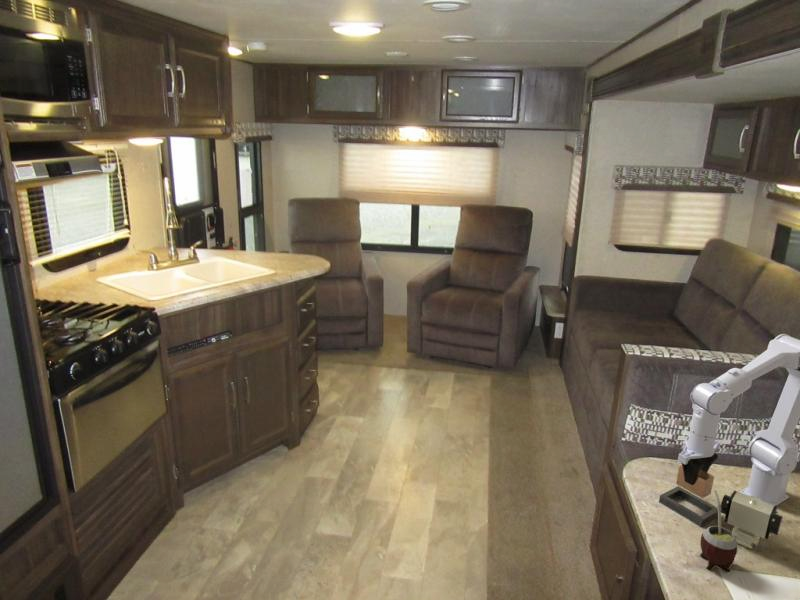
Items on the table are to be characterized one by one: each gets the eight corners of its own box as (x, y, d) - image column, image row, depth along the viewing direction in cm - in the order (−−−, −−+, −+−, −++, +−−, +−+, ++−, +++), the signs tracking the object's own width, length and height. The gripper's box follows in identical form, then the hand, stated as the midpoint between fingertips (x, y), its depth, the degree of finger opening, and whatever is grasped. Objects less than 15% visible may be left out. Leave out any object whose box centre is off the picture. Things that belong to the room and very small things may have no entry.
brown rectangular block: (710, 493, 142) (714, 476, 140) (702, 498, 140) (705, 480, 138) (684, 479, 147) (687, 462, 146) (676, 483, 146) (679, 466, 144)
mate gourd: (723, 580, 122) (736, 520, 118) (687, 558, 128) (698, 501, 124) (739, 565, 127) (752, 507, 122) (703, 545, 133) (714, 489, 128)
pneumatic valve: (770, 560, 128) (781, 514, 125) (713, 535, 136) (722, 492, 133) (775, 547, 132) (786, 503, 129) (720, 524, 140) (729, 482, 136)
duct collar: (677, 492, 152) (678, 486, 152) (719, 516, 143) (720, 509, 142) (658, 501, 148) (660, 495, 148) (700, 527, 139) (702, 520, 138)
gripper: (704, 417, 146) (695, 464, 150) (670, 432, 139) (661, 480, 143) (732, 429, 141) (722, 477, 144) (697, 445, 133) (688, 495, 137)
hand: (693, 480), depth 143 cm, fingers closed on brown rectangular block, 3 cm apart
